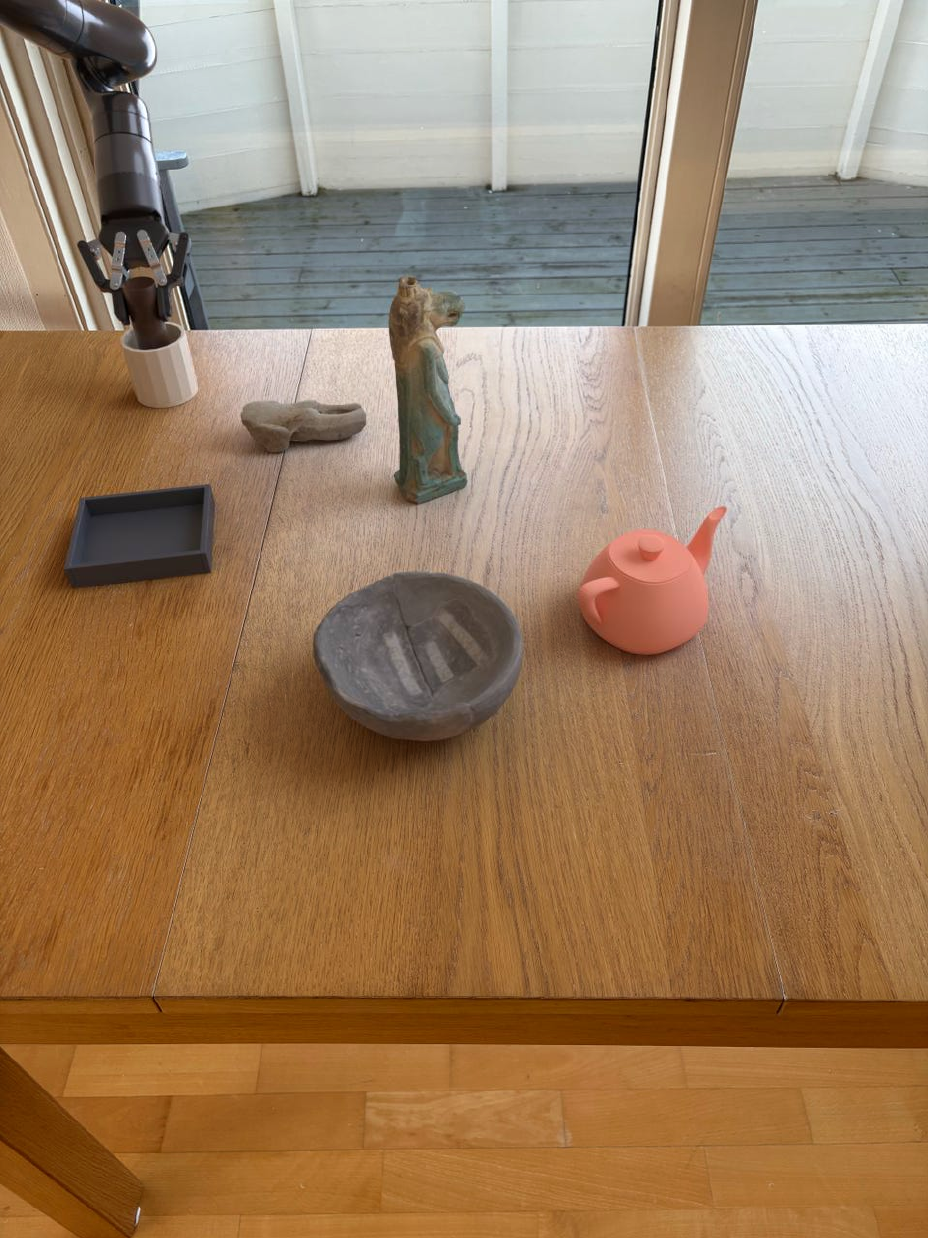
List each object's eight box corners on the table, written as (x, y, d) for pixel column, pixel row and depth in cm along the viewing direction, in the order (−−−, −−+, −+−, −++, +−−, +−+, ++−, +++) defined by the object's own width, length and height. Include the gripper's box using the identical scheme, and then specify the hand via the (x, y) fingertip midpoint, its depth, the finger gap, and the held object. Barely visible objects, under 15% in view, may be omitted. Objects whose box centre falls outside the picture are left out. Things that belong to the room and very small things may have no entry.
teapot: (536, 615, 93) (540, 541, 87) (671, 546, 101) (683, 472, 94) (618, 690, 86) (628, 615, 80) (757, 610, 93) (777, 535, 87)
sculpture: (363, 418, 121) (243, 423, 119) (362, 386, 118) (239, 390, 116) (368, 452, 117) (243, 458, 114) (368, 419, 113) (239, 425, 111)
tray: (71, 588, 98) (63, 569, 96) (87, 516, 107) (80, 497, 105) (211, 572, 99) (205, 552, 97) (215, 502, 108) (210, 483, 106)
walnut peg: (138, 359, 120) (119, 291, 114) (141, 344, 123) (122, 277, 117) (171, 357, 120) (153, 288, 114) (173, 341, 123) (156, 274, 117)
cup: (134, 410, 123) (116, 354, 117) (139, 379, 128) (123, 324, 123) (196, 404, 123) (182, 348, 118) (199, 373, 129) (186, 318, 123)
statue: (479, 485, 109) (476, 275, 92) (419, 512, 106) (403, 299, 88) (446, 458, 113) (437, 251, 96) (386, 483, 110) (366, 274, 93)
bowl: (560, 723, 84) (564, 661, 78) (380, 809, 78) (371, 748, 72) (459, 604, 95) (457, 542, 89) (296, 670, 89) (282, 608, 83)
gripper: (58, 173, 112) (76, 316, 112) (180, 164, 114) (198, 305, 114) (78, 202, 120) (94, 336, 120) (192, 193, 121) (209, 326, 121)
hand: (145, 320), depth 117 cm, fingers closed on walnut peg, 4 cm apart
